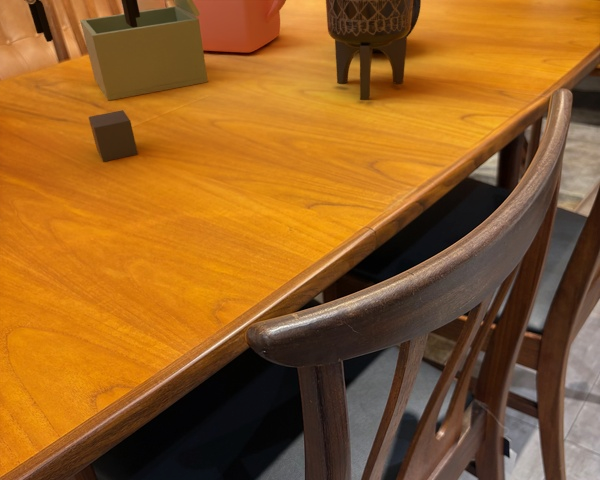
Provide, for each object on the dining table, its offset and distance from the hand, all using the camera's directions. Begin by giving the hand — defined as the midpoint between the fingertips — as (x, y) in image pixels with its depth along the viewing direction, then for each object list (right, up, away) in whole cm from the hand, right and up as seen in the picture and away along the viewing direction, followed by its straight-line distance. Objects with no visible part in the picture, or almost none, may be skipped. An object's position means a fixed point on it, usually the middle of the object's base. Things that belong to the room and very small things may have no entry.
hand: (91, 32), depth 71 cm
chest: (-1, +6, +33) cm, 33 cm away
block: (0, -12, +8) cm, 15 cm away
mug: (-5, +19, +51) cm, 54 cm away
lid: (+2, +22, +24) cm, 32 cm away
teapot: (+13, +20, +51) cm, 57 cm away
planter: (+35, +2, +24) cm, 42 cm away
